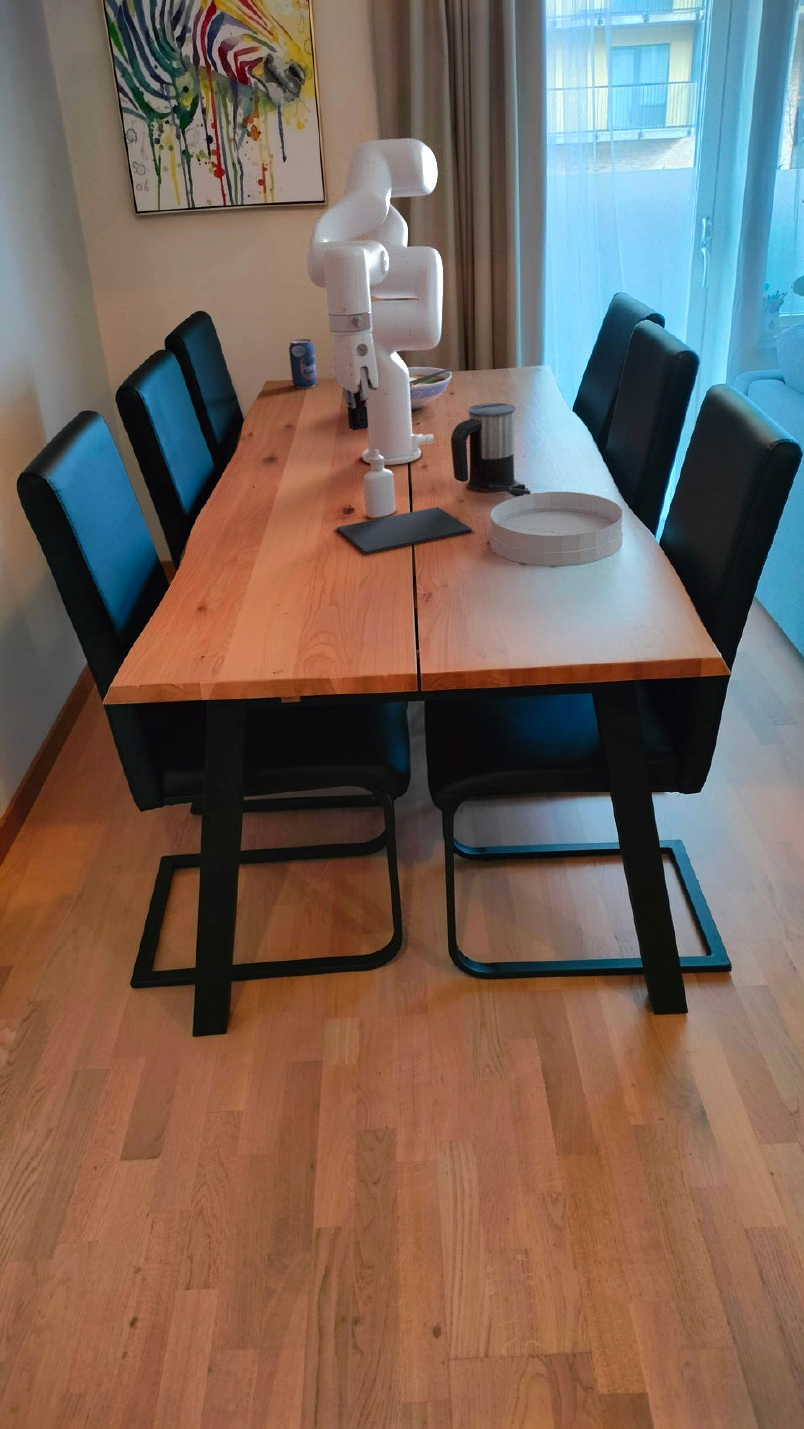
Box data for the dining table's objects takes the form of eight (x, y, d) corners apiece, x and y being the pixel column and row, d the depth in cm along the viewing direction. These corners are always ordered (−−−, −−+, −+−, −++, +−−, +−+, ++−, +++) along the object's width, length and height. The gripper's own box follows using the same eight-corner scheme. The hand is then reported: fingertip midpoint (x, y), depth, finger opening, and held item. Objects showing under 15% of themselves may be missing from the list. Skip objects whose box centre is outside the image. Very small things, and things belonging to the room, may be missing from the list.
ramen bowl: (400, 392, 275) (398, 360, 271) (473, 399, 263) (472, 366, 259) (342, 414, 258) (339, 380, 254) (416, 423, 246) (414, 388, 242)
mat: (437, 509, 191) (437, 506, 191) (471, 532, 180) (471, 529, 179) (336, 530, 185) (336, 527, 184) (365, 554, 173) (365, 551, 173)
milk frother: (484, 475, 208) (483, 400, 200) (554, 485, 199) (555, 407, 192) (446, 495, 198) (443, 418, 190) (517, 507, 189) (517, 426, 182)
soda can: (307, 389, 284) (303, 344, 278) (288, 387, 287) (283, 343, 281) (322, 384, 289) (318, 339, 283) (303, 382, 292) (298, 338, 286)
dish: (590, 574, 160) (591, 544, 158) (466, 554, 171) (465, 525, 168) (642, 528, 176) (643, 500, 174) (525, 512, 187) (525, 485, 184)
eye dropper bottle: (364, 512, 192) (359, 448, 186) (394, 509, 193) (390, 445, 187) (366, 519, 189) (361, 454, 182) (397, 516, 189) (393, 452, 183)
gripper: (386, 326, 176) (393, 433, 185) (355, 316, 188) (362, 417, 197) (345, 331, 173) (354, 440, 182) (316, 320, 186) (326, 423, 194)
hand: (358, 428), depth 190 cm, fingers closed
